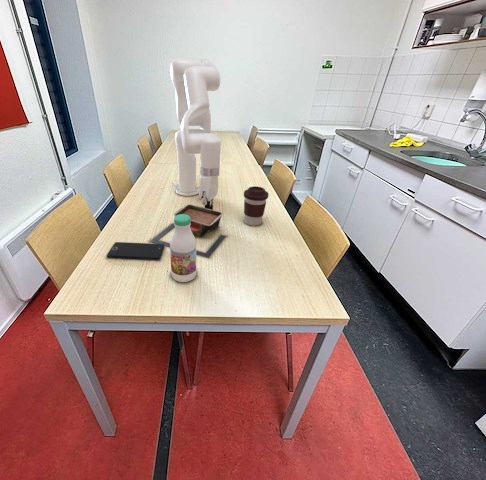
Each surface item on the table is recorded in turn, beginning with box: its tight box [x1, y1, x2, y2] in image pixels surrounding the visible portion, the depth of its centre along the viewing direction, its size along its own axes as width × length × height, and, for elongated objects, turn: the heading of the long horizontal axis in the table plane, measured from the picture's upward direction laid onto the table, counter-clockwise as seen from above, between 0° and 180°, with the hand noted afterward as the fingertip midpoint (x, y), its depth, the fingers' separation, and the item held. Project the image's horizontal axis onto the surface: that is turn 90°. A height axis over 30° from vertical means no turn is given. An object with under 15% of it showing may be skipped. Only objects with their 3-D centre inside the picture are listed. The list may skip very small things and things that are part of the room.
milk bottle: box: [169, 214, 197, 283], centre depth 79 cm, size 8×8×20 cm
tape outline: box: [149, 222, 226, 258], centre depth 103 cm, size 24×16×1 cm
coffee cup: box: [243, 185, 270, 227], centre depth 113 cm, size 10×10×15 cm
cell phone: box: [106, 241, 165, 261], centre depth 94 cm, size 9×18×1 cm, turn 87°
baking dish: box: [173, 204, 224, 238], centre depth 108 cm, size 14×18×10 cm
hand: (208, 213), depth 115 cm, fingers closed
